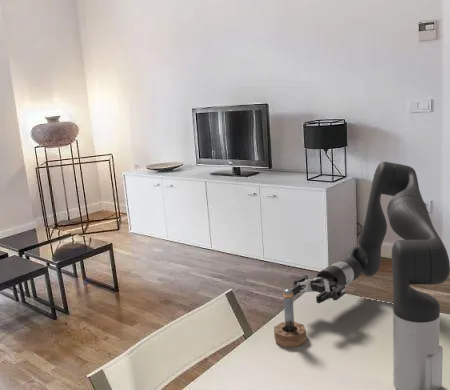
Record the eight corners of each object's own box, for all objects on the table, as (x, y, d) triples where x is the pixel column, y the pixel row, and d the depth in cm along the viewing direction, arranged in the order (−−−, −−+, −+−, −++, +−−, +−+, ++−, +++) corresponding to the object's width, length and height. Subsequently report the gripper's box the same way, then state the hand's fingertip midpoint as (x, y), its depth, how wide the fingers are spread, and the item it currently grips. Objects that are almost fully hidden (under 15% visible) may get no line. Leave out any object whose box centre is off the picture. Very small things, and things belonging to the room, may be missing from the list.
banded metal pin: (297, 338, 131) (294, 289, 128) (291, 342, 130) (288, 292, 127) (289, 335, 133) (286, 287, 130) (283, 339, 131) (280, 290, 128)
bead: (311, 337, 131) (311, 327, 131) (293, 350, 126) (293, 339, 125) (287, 328, 137) (286, 319, 136) (269, 340, 131) (268, 330, 131)
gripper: (315, 260, 150) (282, 277, 138) (357, 270, 140) (326, 289, 129) (315, 283, 151) (284, 302, 140) (357, 294, 142) (327, 315, 130)
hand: (304, 296), depth 134 cm, fingers open, 8 cm apart
